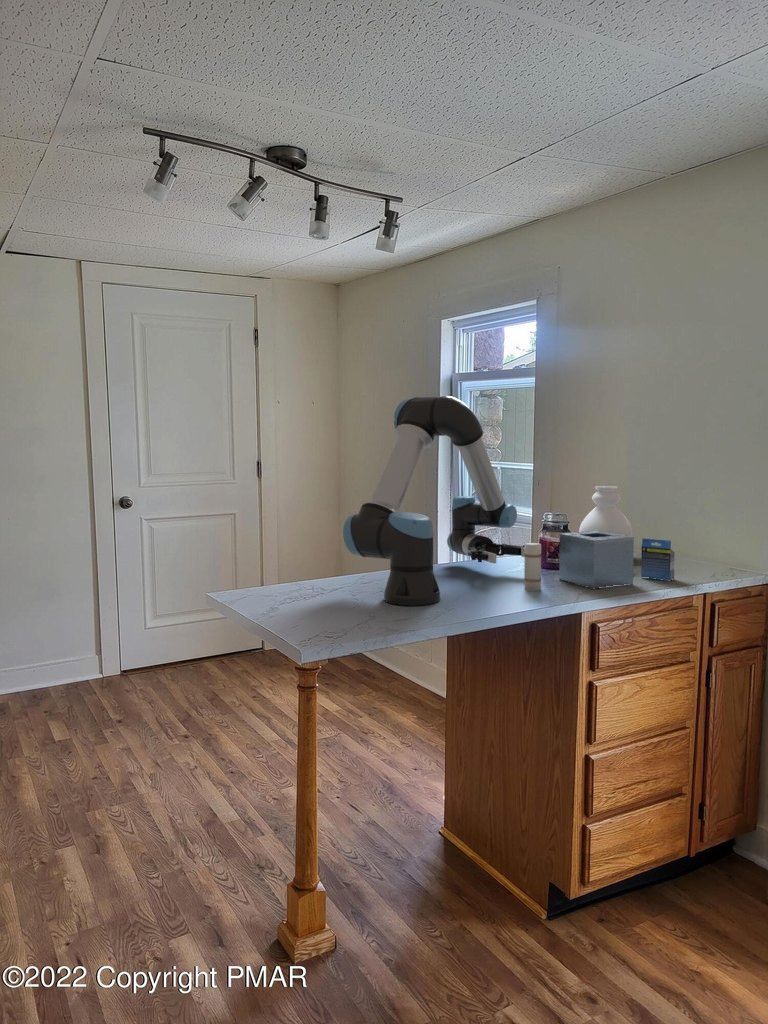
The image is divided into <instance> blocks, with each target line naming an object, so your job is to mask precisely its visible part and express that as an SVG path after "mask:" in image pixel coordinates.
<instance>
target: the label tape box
mask: <svg viewBox="0 0 768 1024" xmlns="http://www.w3.org/2000/svg"><path fill="white" fill-rule="evenodd" d="M641 540H642V541H641V564H640V565H641V566H640V567H641V568H640V569H641V571H640V573H641V574H640V576H641V577H649V578H656V579H663V580H670V581H669V582H672V581H673V580H672V579H674V580H675V551H673V550H672V549H671V546H672V541H671V540H665V539H656V538H655V539H654V538H645V537H644V538H641ZM656 543H657V544H660V545H656ZM663 580H662V581H663ZM671 580H672V581H671Z"/></svg>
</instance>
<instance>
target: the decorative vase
mask: <svg viewBox="0 0 768 1024" xmlns="http://www.w3.org/2000/svg"><path fill="white" fill-rule="evenodd" d="M594 489H595V490H597V491H596V492H594V494H593V495H592V497H591V499H592V502H593V503H594V504H595V505H596V506H595V507H593V509H591V510H590V511H589V512H588V514H587V515H586V516H585V517H584V518H583V520H582V521H581V523H580V526H579V530H578V532H585V531H596V530H598V531H604V532H609V533H615V534H621V535H626V536H632V537H633V528H632V525H631V522H630V521H629V520H628V518H627V517H626V516H625V514H624V513H623V512H622V511H621V510H620V509H619V508H618V507H617V506H616V505H617V504H618V503H619V502H620V501H621V495H620V494H619V493H618V492H616V491H615V490H617V489H618V486H616V485H596V486H594Z"/></svg>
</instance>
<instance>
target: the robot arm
mask: <svg viewBox="0 0 768 1024" xmlns="http://www.w3.org/2000/svg"><path fill="white" fill-rule="evenodd" d="M393 419H394V421H393V426H394V430H395V435H396V436H397V438H396V441H395V443H394V445H393V448H392V450H391V452H390V453H389V457H388V459H387V461H386V464H385V466H384V468H383V471H382V473H381V475H380V477H379V479H378V482H377V484H376V486H375V489H374V490H373V493H372V495H371V497H370V500H369V501H367V502H364V503H362V505H361V507H360V508H359V512H358V513H354V514H352V515H349V516H348V517H347V518H346V519H345V521H344V523H343V524H344V525H343V529H342V535H343V542H344V545H345V547H346V550H348V551H349V552H350V554H352V555H354V556H358V557H362V558H375V559H384V560H389V563H390V564H389V566H390V567H389V570H390V571H389V575H388V579H387V582H386V584H385V588H384V592H383V597H384V598H383V599H385V600H386V601H387V602H390V603H393V604H392V605H395V604H399V605H398V606H404V605H409V606H408V607H411V606H416V607H417V606H426V605H433V604H436V603H439V602H440V600H441V591H440V587H439V584H438V581H437V578H436V576H435V572H434V534H435V533H434V528H433V521H432V519H431V518H430V517H429V516H427V515H424V514H421V513H417V512H411V511H410V512H406V511H399V510H400V508H401V505H402V503H403V501H404V498H405V496H406V493H407V490H408V488H409V486H410V483H411V481H412V479H413V476H414V474H415V471H416V469H417V467H418V464H419V462H420V459H421V458H422V455H423V453H424V450H425V449H428V448H430V447H431V446H432V444H433V442H434V440H435V437H439V436H440V437H443V436H446V437H448V438H449V439H451V442H452V444H453V446H455V447H457V448H458V452H459V453H460V456H461V459H462V461H463V463H464V465H465V468H466V471H467V473H468V476H469V478H470V481H471V483H472V486H473V489H474V492H475V494H476V496H477V499H478V502H477V501H476V499H475V496H472V495H459V496H454V497H453V499H452V507H451V517H452V530H451V532H450V533H449V534H448V537H447V540H446V543H447V546H448V549H449V550H451V551H452V552H455V554H459V555H464V556H467V557H470V560H472V561H476V560H477V563H482V562H483V561H484V562H488V563H492V564H497V556H499V557H501V556H502V557H503V556H504V555H505V556H506V555H509V556H521V557H523V558H525V556H524V553H525V544H523V545H516V544H515V545H514V544H507V543H501V544H500V543H495V542H494V541H493V540H492V539H491V538H490V537H488V536H484V535H480V534H476V527H477V526H478V527H492V528H499V529H500V528H501V529H502V528H506V529H507V528H512V527H513V526H515V524H516V522H517V518H518V511H517V508H516V506H514V505H513V504H512V503H511V504H510V503H506V501H505V498H504V495H503V493H502V490H501V487H500V485H499V482H498V479H497V476H496V474H495V471H494V469H493V468H494V467H493V466H492V463H491V460H490V457H489V454H488V451H487V449H486V446H485V443H484V440H483V436H484V431H483V428H482V426H481V425H482V424H481V423H480V421H479V419H478V417H477V416H476V415H475V412H473V410H472V409H471V408H470V407H469V406H468V405H467V404H466V403H465V402H463V401H462V400H460V399H459V398H457V397H453V396H449V395H442V396H424V397H423V396H422V397H421V396H415V397H409V398H406V399H403V400H402V401H401V402H400V403H399V404H398V405H397V406H396V409H395V411H394V413H393ZM385 600H384V601H385ZM386 601H385V602H386ZM387 602H386V603H387ZM390 603H389V604H390Z"/></svg>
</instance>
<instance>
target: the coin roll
mask: <svg viewBox="0 0 768 1024" xmlns="http://www.w3.org/2000/svg"><path fill="white" fill-rule="evenodd" d="M524 545H525V553H524V556H525V557H524V576H523V578H524V591H527V590H528V592H539V591H538V590H540V591H541V590H542V544H541V543H538V542H537V543H536V542H528V543H524Z"/></svg>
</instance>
